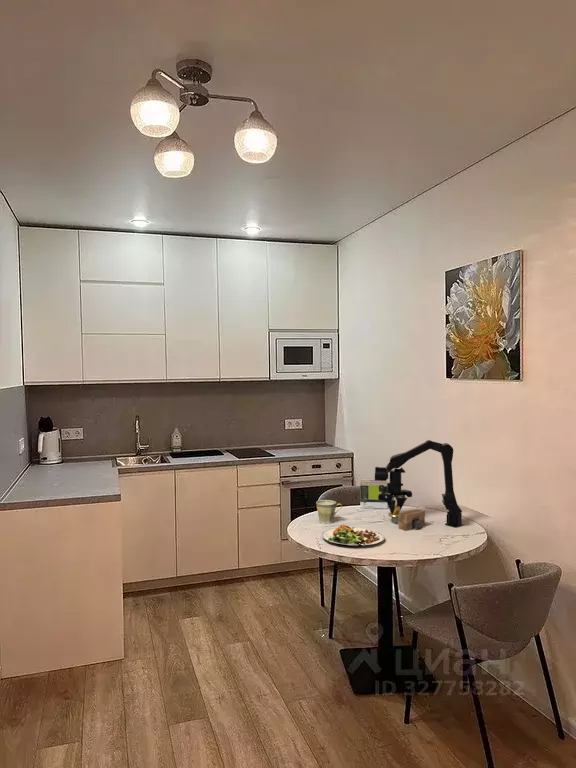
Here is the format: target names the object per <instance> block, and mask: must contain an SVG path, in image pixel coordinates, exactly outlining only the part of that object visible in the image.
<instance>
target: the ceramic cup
mask: <svg viewBox="0 0 576 768" xmlns="http://www.w3.org/2000/svg"><path fill="white" fill-rule="evenodd" d="M315 505H316V509H317V513H318V514H317V515H318V520H319V523H320V524H322V523H324V524H323V525H326V524H327V525H330V523H331V524H333V523H334V519H335V515H336V514H337V513H338V512H339V511H340V510H341V509H342V508H343V504H342V503H339V502H338V503H337V501H335V500H331V499H320V500H317V501H316V502H315ZM339 505H340V508H339V509H338V510H336V509H337V507H338V506H339Z"/></svg>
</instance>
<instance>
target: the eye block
mask: <svg viewBox="0 0 576 768" xmlns="http://www.w3.org/2000/svg"><path fill="white" fill-rule="evenodd" d="M425 517H426V511H425V510H421V509H418V508H416V509H411V510H406V511H400V513H399V523H398V524H397V525H398V529H399V530H402V531H412V530H413V528H412V520H420V522H421V528H425V527H424V526H426V524H425V523H426V522H425V521H426V518H425Z"/></svg>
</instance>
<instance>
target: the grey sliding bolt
mask: <svg viewBox="0 0 576 768" xmlns="http://www.w3.org/2000/svg"><path fill="white" fill-rule="evenodd" d="M399 513H401V510H400V506H399V505H397V504H395V507H394V511H393V513H391V512H389V513H388V517H389V518H391V523H394V524H396V525H398V523H399ZM421 528H422V527H421V522H420V520H412V530H413V529H414V530H420V529H421ZM421 530H422V529H421Z"/></svg>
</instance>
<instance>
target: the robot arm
mask: <svg viewBox="0 0 576 768" xmlns="http://www.w3.org/2000/svg"><path fill="white" fill-rule="evenodd" d="M429 450H433V451H435V452H438V453H440V456H441V460H442V462H443V463H442V464H443V475H444V493H441V498H442V501H441V503H442V504H443V505H444V507H445V509H446V510H447V512H446V523H445V526H449V527H453V528H459V527H462V525H463V526H464V525H465V524H464V523H463V522H462V521H463V520H462V519H463V516H462V515H463V513H462V512H463V510H462V508H461V507H460V506H459V504H458V501H457V499H456V495H455V490H454V479H453V465H452V463H453V459H454V448H453V446H452V445H451V444H450V443H448V442H444V443H441V442H437V441H433V440H431V439H428V440H426V441H424V442H423V443H420V444H418V445H417V446H415V447H413V448H410V449H408V450H407V451H405V452H400V453H398V454H394V455H392V456H391V457H390V458H389V462H388V463H387V464H386V465H385V467H382V466H381V467H380V466H375V467H374V468H375V469H374V479H375V481H386V480H387V481H388V479H389V482H387V486H384V485H380V486H379V492H381V493H382V494H379V495H378V499H379V500H382V501H386V502H387V504H388V509H389V511H390V512H389V513H393V511H394V507H395V505H399V506H400V511H401V510H402V508H403V507H404V504H405V502H406V501H407V500H408V498H412V497H413V492H412V490H408V489H402V487H403V486H404V483H402V474H406V470H405V469H404V468H403V467H402V466H403V465H405V464H406V463H407V462H408V461H409V460H412V459H413V458H415V457H418V456H419V455H420V454H423V453H425V452H427V451H429ZM387 493H388V494H387ZM406 496H407V497H406ZM394 498H395V499H394ZM458 526H459V527H458Z"/></svg>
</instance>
